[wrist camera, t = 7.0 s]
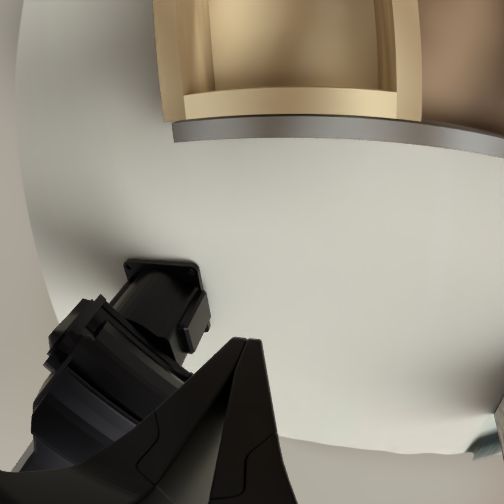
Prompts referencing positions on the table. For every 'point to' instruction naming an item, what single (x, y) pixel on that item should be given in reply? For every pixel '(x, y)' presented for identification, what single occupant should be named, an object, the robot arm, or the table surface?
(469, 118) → the bay
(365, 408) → the table surface
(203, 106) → the crate
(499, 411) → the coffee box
